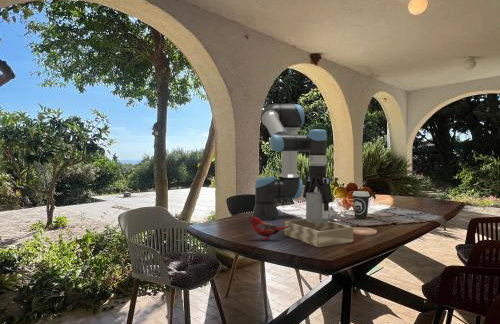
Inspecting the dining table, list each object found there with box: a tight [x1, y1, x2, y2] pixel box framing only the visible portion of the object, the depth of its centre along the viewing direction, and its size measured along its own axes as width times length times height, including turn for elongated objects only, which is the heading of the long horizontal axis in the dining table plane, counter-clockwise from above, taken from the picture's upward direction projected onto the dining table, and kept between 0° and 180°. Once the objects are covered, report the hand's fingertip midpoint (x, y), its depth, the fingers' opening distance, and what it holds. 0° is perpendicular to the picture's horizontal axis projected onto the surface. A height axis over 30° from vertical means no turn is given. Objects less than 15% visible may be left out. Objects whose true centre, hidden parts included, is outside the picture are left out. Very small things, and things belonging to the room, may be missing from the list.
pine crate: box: [283, 218, 354, 248], centre depth 149 cm, size 24×18×6 cm
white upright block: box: [305, 191, 329, 223], centre depth 149 cm, size 10×10×12 cm
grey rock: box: [328, 205, 339, 222], centre depth 186 cm, size 9×8×10 cm
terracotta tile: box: [353, 226, 378, 236], centre depth 160 cm, size 12×12×1 cm
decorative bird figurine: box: [248, 217, 290, 241], centre depth 145 cm, size 3×18×10 cm, turn 84°
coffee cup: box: [351, 190, 371, 220], centre depth 194 cm, size 10×10×15 cm
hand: (316, 216), depth 149 cm, fingers closed on white upright block, 9 cm apart
